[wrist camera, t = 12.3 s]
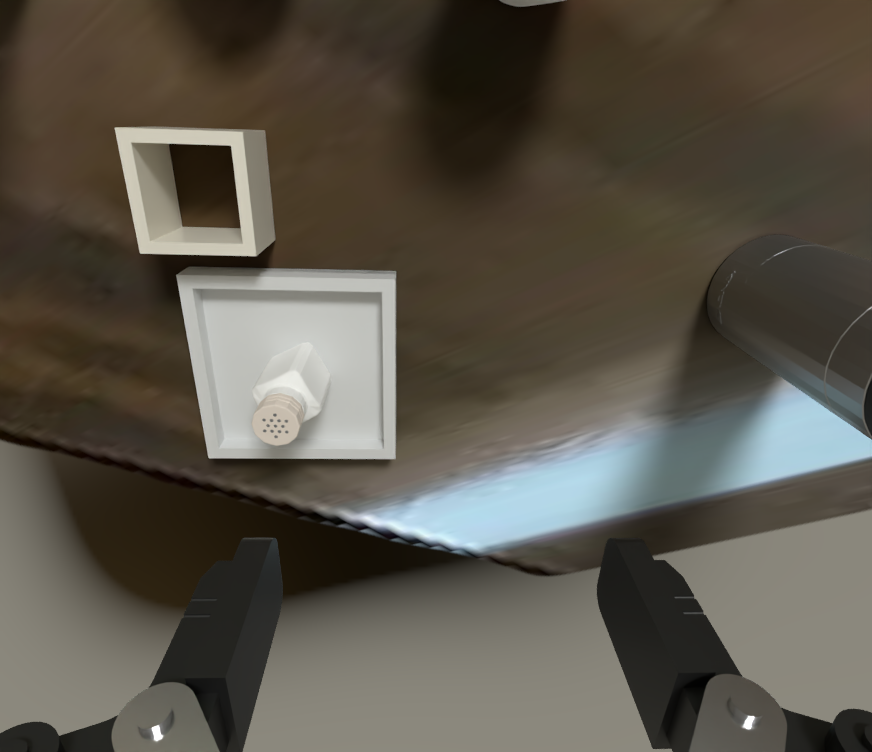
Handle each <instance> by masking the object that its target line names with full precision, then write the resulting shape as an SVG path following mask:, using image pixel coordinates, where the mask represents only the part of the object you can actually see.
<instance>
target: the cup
mask: <svg viewBox="0 0 872 752" xmlns="http://www.w3.org/2000/svg"><path fill="white" fill-rule="evenodd" d="M499 1H501V2H503V3H505V4H508V5H511V6H517V7H525V6H533V5H540V4H547V3H554V2H560V1H565V0H499Z"/></svg>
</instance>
